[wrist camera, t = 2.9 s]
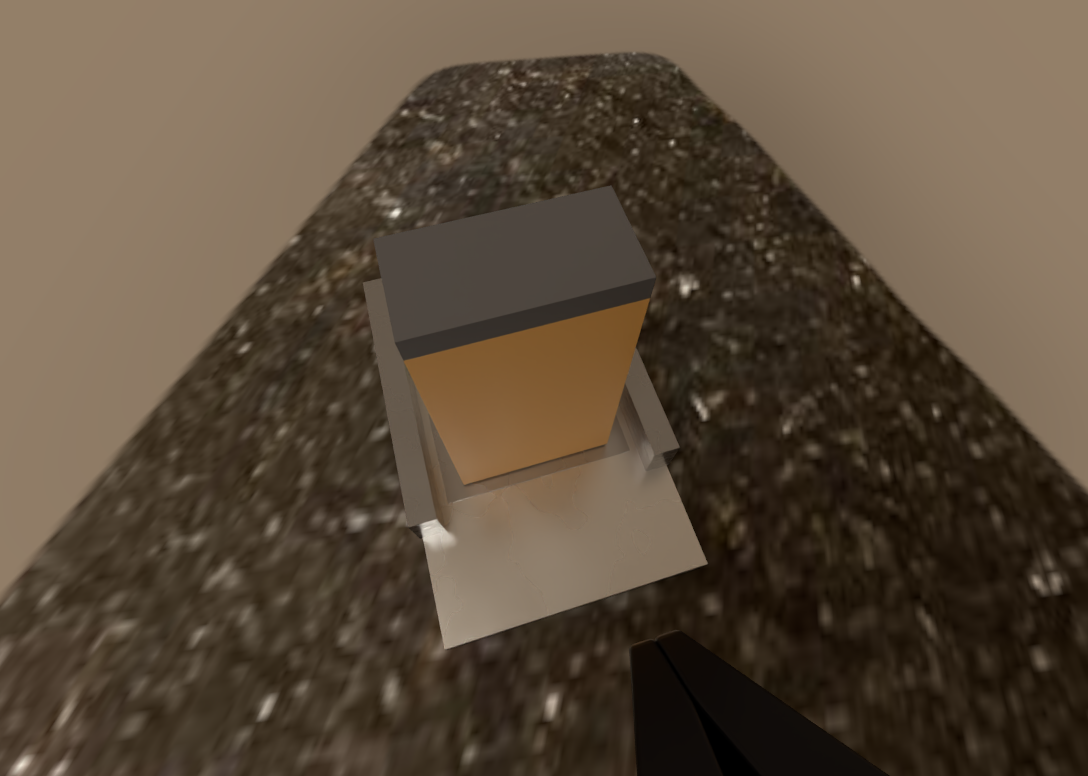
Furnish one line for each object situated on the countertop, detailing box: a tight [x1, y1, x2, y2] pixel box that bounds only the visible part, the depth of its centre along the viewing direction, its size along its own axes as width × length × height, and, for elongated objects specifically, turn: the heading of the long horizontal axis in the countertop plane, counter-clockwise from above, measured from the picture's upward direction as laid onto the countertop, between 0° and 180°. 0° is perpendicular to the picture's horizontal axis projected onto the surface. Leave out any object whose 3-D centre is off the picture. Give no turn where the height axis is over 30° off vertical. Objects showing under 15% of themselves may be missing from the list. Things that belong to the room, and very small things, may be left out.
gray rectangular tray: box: [363, 278, 708, 650], centre depth 22 cm, size 16×10×4 cm, turn 17°
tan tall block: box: [374, 186, 656, 485], centre depth 17 cm, size 3×6×11 cm, turn 107°
